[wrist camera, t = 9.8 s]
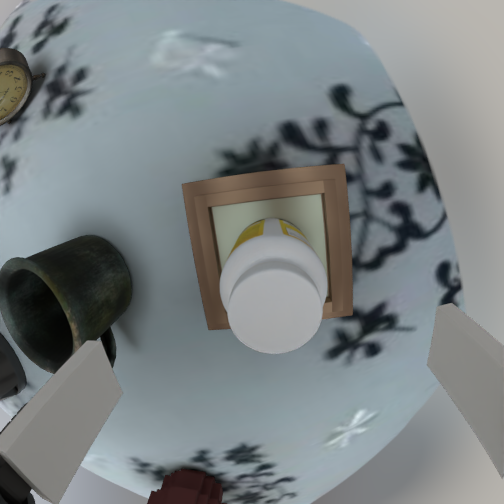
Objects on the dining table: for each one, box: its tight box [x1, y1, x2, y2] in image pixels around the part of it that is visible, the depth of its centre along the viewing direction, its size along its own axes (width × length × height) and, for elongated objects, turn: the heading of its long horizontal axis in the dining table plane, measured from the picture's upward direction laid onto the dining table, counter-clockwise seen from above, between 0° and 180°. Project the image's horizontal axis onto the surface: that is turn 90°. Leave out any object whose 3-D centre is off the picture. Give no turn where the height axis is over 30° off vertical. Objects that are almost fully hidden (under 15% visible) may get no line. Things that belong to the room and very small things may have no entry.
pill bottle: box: [220, 218, 327, 354], centre depth 19 cm, size 6×6×12 cm
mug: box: [0, 235, 131, 374], centre depth 25 cm, size 11×15×12 cm
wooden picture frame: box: [182, 164, 353, 330], centre depth 26 cm, size 14×14×4 cm
